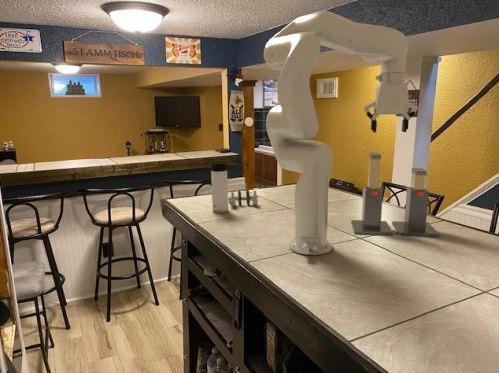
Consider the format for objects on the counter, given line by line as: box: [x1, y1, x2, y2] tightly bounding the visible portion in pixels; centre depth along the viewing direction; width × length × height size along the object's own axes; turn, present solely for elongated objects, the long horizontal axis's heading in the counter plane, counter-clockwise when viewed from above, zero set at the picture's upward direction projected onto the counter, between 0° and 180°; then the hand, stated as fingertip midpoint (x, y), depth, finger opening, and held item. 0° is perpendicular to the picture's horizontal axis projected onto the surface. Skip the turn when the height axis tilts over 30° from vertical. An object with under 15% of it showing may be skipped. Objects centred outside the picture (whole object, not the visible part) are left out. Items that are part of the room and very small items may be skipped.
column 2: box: [411, 167, 428, 191], centre depth 125 cm, size 6×3×19 cm, turn 171°
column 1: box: [367, 151, 382, 190], centre depth 126 cm, size 6×3×19 cm, turn 171°
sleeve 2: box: [391, 186, 440, 238], centre depth 126 cm, size 12×12×14 cm
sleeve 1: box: [350, 186, 394, 236], centre depth 128 cm, size 12×12×14 cm
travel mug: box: [210, 162, 229, 214], centre depth 151 cm, size 6×7×20 cm
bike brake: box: [228, 189, 259, 207], centre depth 167 cm, size 14×7×20 cm
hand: (389, 131), depth 128 cm, fingers open, 9 cm apart
